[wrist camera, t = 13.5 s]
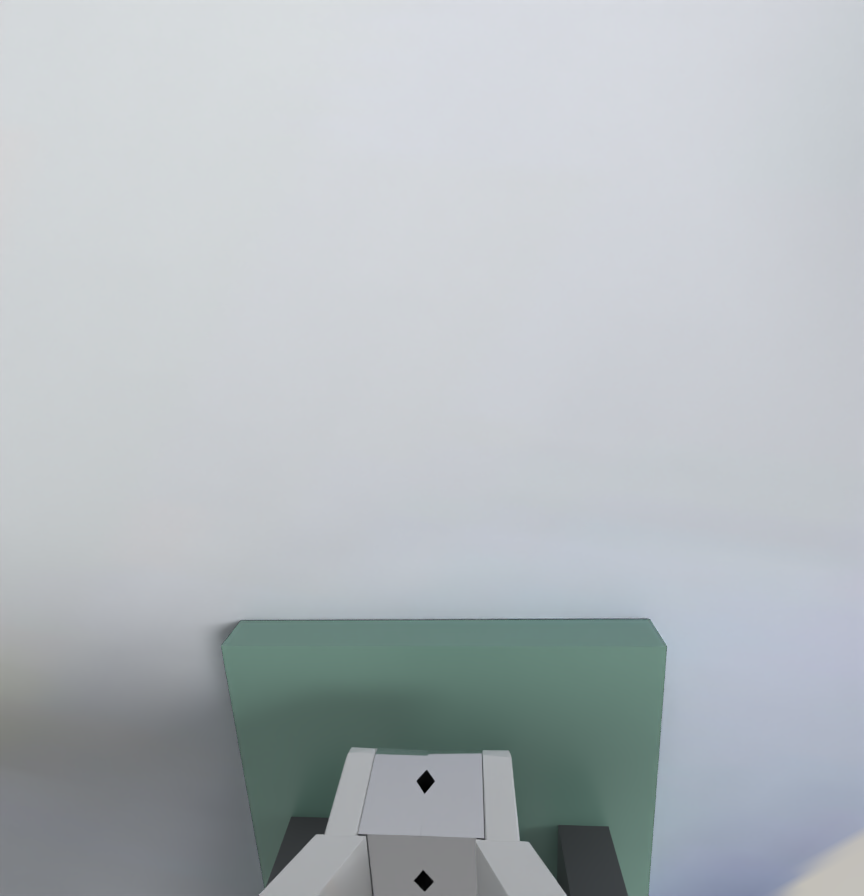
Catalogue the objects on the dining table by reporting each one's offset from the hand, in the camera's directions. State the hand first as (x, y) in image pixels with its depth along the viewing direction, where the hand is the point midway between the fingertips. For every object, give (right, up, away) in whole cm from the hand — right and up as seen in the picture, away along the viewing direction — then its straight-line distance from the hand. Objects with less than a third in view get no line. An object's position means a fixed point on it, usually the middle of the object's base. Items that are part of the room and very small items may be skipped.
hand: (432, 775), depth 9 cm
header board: (+1, -10, +6) cm, 11 cm away
